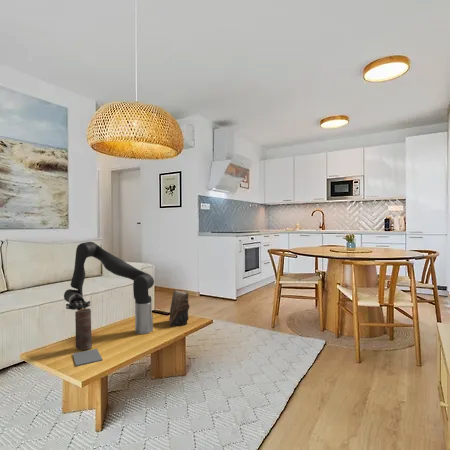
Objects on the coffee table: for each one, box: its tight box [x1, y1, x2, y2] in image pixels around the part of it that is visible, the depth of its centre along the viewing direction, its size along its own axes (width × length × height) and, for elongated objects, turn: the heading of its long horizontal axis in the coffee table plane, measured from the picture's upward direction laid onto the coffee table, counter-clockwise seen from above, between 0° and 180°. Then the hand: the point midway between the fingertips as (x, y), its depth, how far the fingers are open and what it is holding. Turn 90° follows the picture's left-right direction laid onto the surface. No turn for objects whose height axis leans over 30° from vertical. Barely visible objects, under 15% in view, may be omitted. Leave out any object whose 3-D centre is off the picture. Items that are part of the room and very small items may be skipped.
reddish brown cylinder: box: [74, 308, 93, 350], centre depth 155 cm, size 8×7×20 cm
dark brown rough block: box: [168, 289, 190, 327], centre depth 194 cm, size 13×13×20 cm
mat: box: [72, 348, 103, 367], centre depth 145 cm, size 11×14×1 cm
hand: (80, 308), depth 164 cm, fingers closed
